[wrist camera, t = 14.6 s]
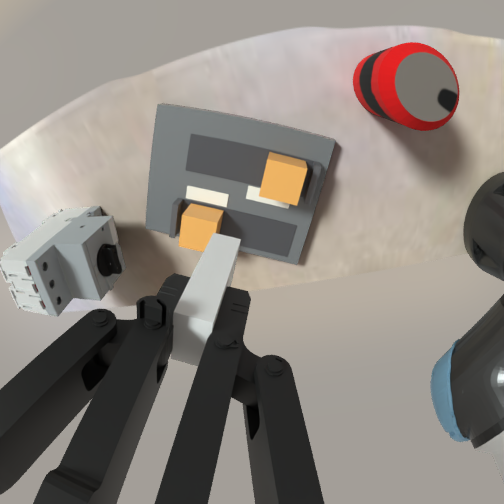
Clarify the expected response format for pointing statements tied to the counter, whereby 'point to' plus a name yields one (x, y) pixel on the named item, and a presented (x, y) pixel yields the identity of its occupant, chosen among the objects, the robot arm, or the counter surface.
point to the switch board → (232, 177)
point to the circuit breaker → (64, 261)
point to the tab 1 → (199, 226)
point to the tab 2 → (283, 178)
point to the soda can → (408, 86)
